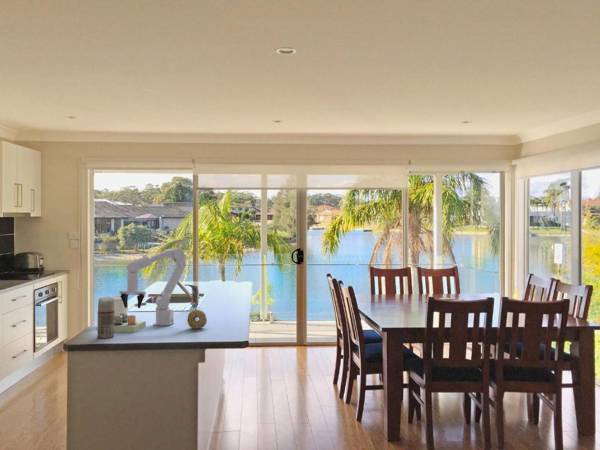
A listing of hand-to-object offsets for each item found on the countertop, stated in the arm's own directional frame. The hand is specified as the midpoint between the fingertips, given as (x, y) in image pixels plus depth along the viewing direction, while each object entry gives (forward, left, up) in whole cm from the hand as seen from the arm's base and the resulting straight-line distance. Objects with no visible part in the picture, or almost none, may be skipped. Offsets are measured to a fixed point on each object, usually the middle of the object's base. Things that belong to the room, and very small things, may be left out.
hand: (132, 307), depth 301 cm
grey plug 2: (+4, +3, -7) cm, 9 cm away
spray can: (+3, +26, -11) cm, 28 cm away
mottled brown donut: (-37, +2, -11) cm, 39 cm away
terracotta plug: (-3, +9, -7) cm, 12 cm away
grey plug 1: (+4, +10, -7) cm, 13 cm away
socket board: (0, +7, -11) cm, 12 cm away
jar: (+12, -8, -11) cm, 18 cm away
